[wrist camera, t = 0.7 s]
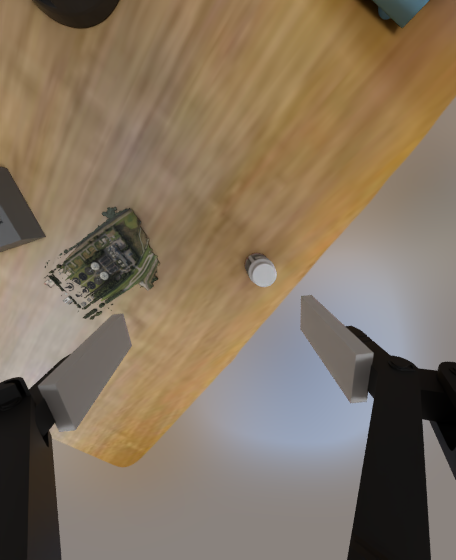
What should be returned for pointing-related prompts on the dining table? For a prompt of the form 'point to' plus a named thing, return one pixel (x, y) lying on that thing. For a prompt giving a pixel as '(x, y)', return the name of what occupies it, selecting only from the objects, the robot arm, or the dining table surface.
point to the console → (15, 215)
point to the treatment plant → (110, 260)
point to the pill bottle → (260, 270)
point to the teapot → (399, 9)
